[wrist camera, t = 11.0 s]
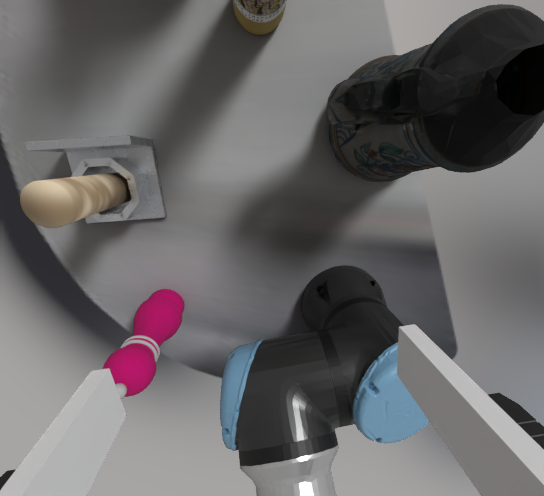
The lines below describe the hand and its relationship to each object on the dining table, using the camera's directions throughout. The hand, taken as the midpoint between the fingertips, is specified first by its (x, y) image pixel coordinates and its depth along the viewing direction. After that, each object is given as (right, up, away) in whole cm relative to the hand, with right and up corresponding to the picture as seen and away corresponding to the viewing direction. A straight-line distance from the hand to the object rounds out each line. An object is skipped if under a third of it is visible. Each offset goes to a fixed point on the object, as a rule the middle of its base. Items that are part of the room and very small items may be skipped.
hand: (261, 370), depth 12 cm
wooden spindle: (-23, +15, +28) cm, 39 cm away
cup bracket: (-23, +15, +29) cm, 40 cm away
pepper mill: (-19, -4, +36) cm, 41 cm away
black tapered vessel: (+16, +24, +30) cm, 41 cm away
